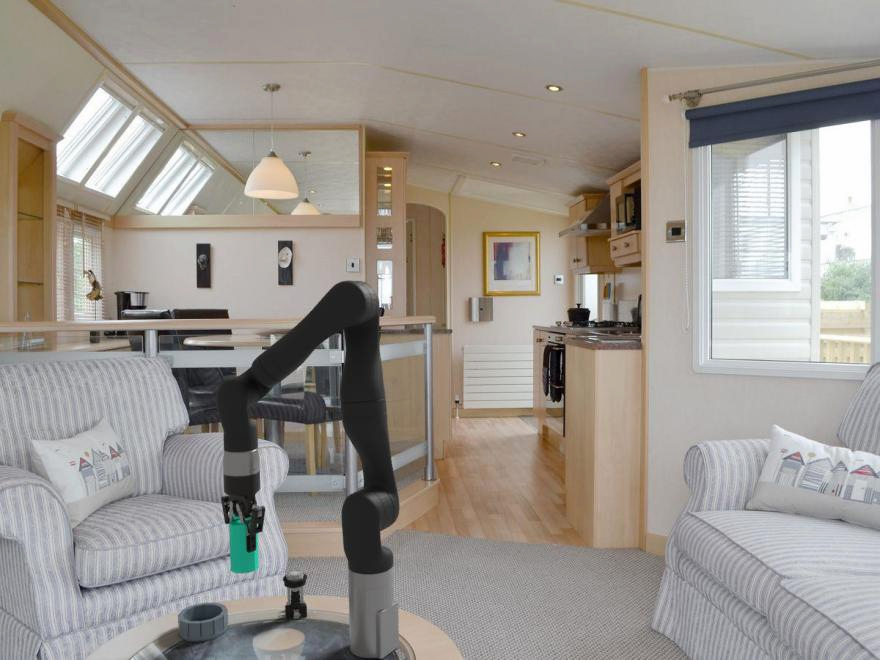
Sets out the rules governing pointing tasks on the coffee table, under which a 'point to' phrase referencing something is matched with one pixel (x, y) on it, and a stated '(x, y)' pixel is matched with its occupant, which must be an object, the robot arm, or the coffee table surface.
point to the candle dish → (202, 622)
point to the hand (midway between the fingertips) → (243, 547)
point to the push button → (294, 595)
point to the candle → (241, 549)
